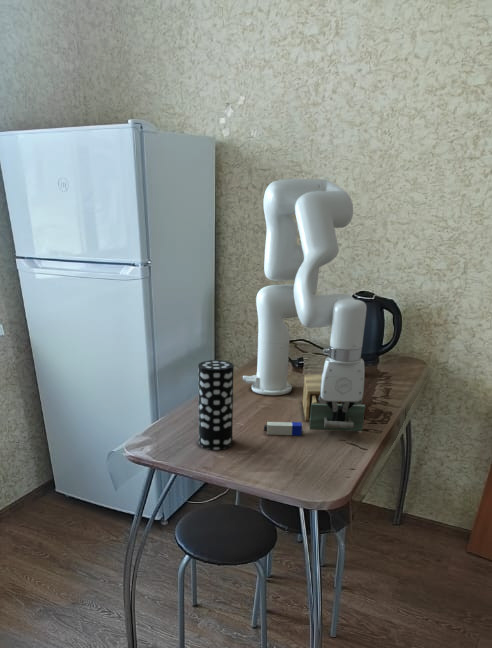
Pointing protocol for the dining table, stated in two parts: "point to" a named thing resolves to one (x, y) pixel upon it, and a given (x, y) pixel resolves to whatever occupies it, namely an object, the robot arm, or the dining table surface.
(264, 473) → the dining table surface
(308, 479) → the dining table surface
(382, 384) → the dining table surface
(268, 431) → the white and blue block
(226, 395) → the white-spotted black cylinder
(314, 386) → the cabinet
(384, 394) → the dining table surface
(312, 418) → the drawer
